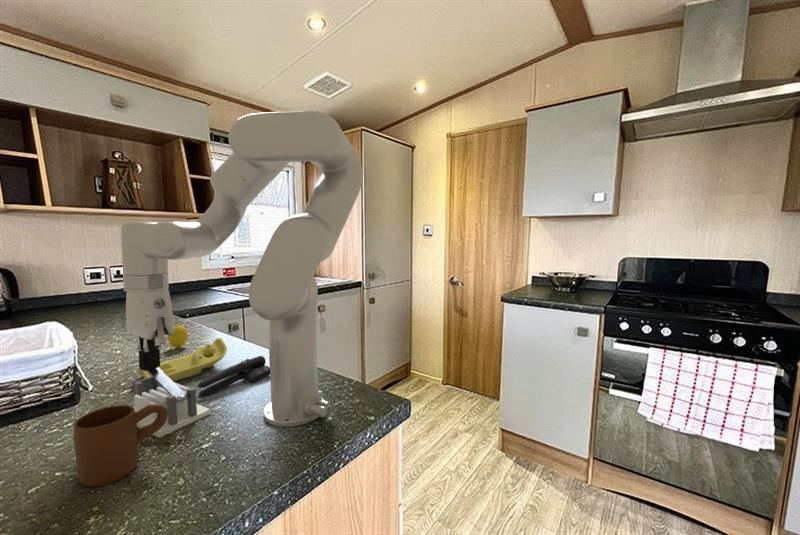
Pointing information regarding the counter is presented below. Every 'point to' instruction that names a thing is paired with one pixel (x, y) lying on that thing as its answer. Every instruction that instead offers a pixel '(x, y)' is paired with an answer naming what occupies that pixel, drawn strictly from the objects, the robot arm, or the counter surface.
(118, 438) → the mug
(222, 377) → the can opener
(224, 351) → the plastic component
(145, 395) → the heatsink board
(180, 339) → the lemon
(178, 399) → the grey long flat bar
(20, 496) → the counter surface
